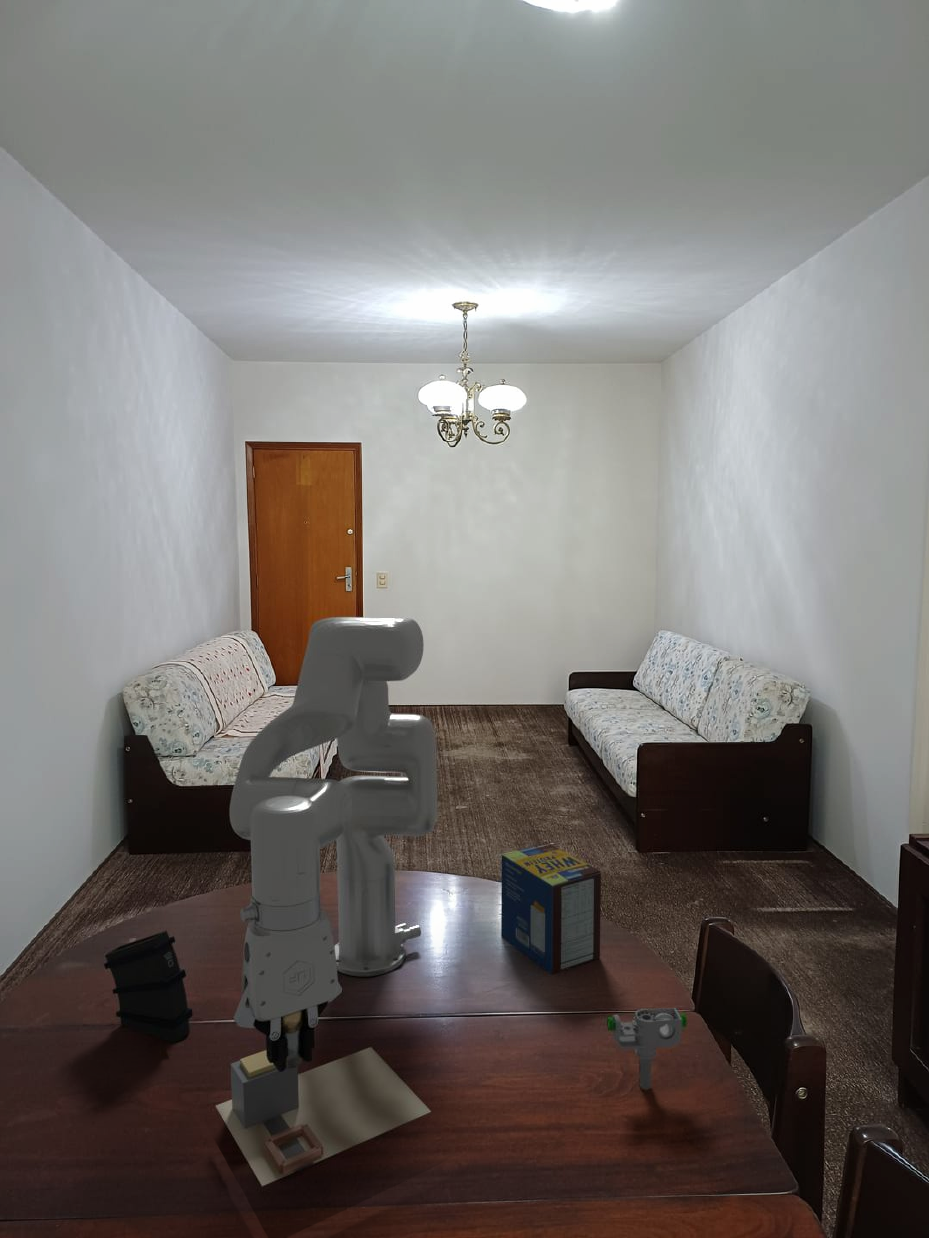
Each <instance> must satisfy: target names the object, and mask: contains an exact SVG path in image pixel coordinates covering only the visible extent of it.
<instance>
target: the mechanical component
mask: <svg viewBox="0 0 929 1238" xmlns="http://www.w3.org/2000/svg"><path fill="white" fill-rule="evenodd" d="M632 1017H633V1019H632V1020H631V1021H628V1022H622V1020H621V1018H620V1016H619V1014H613V1015H611V1017H606V1026H607V1027H606V1028H607V1031H608V1032H611V1033H612V1035H613V1038H614V1040H615V1042H616V1045H617V1047H619V1049H621V1050H635V1055H636V1057H638V1059H639V1063H638V1064H639V1065H638V1069H639V1070H638V1083H639V1084H638V1085H639V1086H640V1088H641V1089H642V1090H645V1091H646V1090H648V1091H649V1090H650V1089H651V1087H652V1063H653V1062H652V1061H653V1059H654V1058H656V1055H657V1053H656V1049H658V1048H659V1049H660V1048H672V1047H676V1046H678V1045H679V1043H680V1042H681V1039H682V1038H681V1037H682V1032H683V1028H686V1027H687V1024H688V1021H687V1016H686V1014H685V1013H679V1011H678V1010H677V1007H673V1008H669V1007H667V1008H648V1009H647V1008H642V1009H637V1010H636V1011H635V1013H634V1016H632Z"/></svg>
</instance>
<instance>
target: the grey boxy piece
mask: <svg viewBox="0 0 929 1238" xmlns="http://www.w3.org/2000/svg"><path fill="white" fill-rule="evenodd" d="M298 1067H299V1066H298ZM298 1067H296V1068H293V1069H285V1070H284V1071H282V1072H279V1071H278V1069H277V1068H276V1067H275V1065H274V1064H273V1063H270V1062H269V1061H268V1059H267V1055H266V1049H265V1050H263V1051H260V1052H257V1053H254V1054H251V1055H248V1056H245V1057H243V1058H240V1059H239V1060H236V1061H234V1062H232V1063H230V1081H231V1082H230V1084H231V1085H230V1086H231V1087H230V1088H231V1100H232V1109H233V1110H234V1112H235V1114H236V1115H237V1117H238V1119H239V1120H240V1122H241V1124H242V1125H243V1127H244V1129H246V1128H249V1127H251V1126H254V1125H256V1124H259V1123H261V1122H264V1121H266V1120H269V1119H271V1118H274V1117H276V1116H279V1115H281V1114H284V1113H286V1112H289V1111H291V1110H294V1109H297V1108H299V1094H298V1074H299V1068H298Z"/></svg>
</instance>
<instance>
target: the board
mask: <svg viewBox="0 0 929 1238" xmlns="http://www.w3.org/2000/svg"><path fill="white" fill-rule="evenodd" d="M298 1094H299V1108H297V1109H294V1110H291V1111H289V1112H286V1113H284V1114H281V1115H279V1116H276V1117H274V1118H271V1119H269V1120H266V1121H264V1122H261V1123H259V1124H256V1125H254V1126H251V1127H249V1128H246V1129H244V1127H243V1125H242V1124H241V1122H240V1120H239V1119H238V1117H237V1115H236V1114H235V1112H234V1110H233V1109H232V1099H230V1100H229V1099H228V1100H227V1101H224V1102H222V1103H219V1104H216V1105H215V1108H216V1110H217V1111H218V1113H219V1115H220V1116H221V1118H222V1120H223V1121H224V1123H225V1125H226V1127H227V1128H228V1130H229V1132H230V1133H231V1135H232V1137H233V1138H234V1140H235V1142H236V1144H237V1146H238V1147H239V1150H240V1151H241V1153H242V1154H243V1156H244V1158H245V1160H246V1161H247V1162H248V1165H249V1166H250V1168H251V1169H252V1172H253V1173H254V1175H255V1177H256V1178H257V1180H258V1182H259V1184H260V1185H261V1187H264V1186H266V1185H269V1184H271V1183H274V1182H276V1181H277V1180H280V1179H283V1178H284V1177H287V1176H289V1175H291V1174H294V1173H295V1172H298V1171H301V1170H303V1169H306V1168H308V1167H310V1166H312V1165H314V1164H316V1163H319V1162H321V1161H323V1160H325V1159H328V1158H330V1157H332V1156H334V1155H337V1154H339V1153H341V1152H344V1151H346V1150H349V1149H350V1148H352V1147H355V1146H358V1145H359V1144H361V1143H364V1142H366V1141H368V1140H371V1139H373V1138H375V1137H377V1136H380V1135H382V1134H384V1133H386V1132H387V1133H388V1132H389V1131H391V1130H393V1129H396V1128H398V1127H400V1126H402V1125H405V1124H407V1123H409V1122H412V1121H414V1120H416V1119H419V1118H421V1117H423V1116H425V1115H427V1114H430V1113H432V1111H431V1110H430V1109H429V1107H428V1106H427V1105H426V1104H425V1103H424V1102H423V1101H422V1100H421V1099H420V1098H419V1097H418V1096H417V1094H415V1093H414V1091H413V1090H412V1089H411V1088H410V1087H409V1086H408V1084H406V1083H405V1081H403V1080H402V1079H401V1078H400V1077H399V1075H398V1074H397V1073H396V1072H395V1071H394V1069H392V1068H391V1067H390V1066H389V1065H388V1064H387V1062H386V1061H385V1060H384V1059H382V1057H381V1056H380V1055H379V1054H378V1053H377V1052H376V1051H375V1050H374V1049H373V1047H372V1046H369V1047H368V1048H364V1049H362V1050H360V1051H356V1052H353V1053H352V1054H349V1055H345V1056H343V1057H342V1058H338V1059H335V1060H332V1061H330V1062H328V1063H325V1064H322V1065H319V1066H316V1067H314V1068H312V1069H309V1070H306V1071H304V1072H301V1073H298Z"/></svg>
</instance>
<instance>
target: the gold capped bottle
mask: <svg viewBox="0 0 929 1238" xmlns="http://www.w3.org/2000/svg"><path fill="white" fill-rule="evenodd" d="M301 1027H302V1011H299V1012H295V1013H292V1014H289V1015H286V1016H283V1017H281V1034H282V1035H283V1037H284V1038H285V1049H286V1069H293V1068H296V1067H299V1066H300V1065H301V1064H302V1057H301Z"/></svg>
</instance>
